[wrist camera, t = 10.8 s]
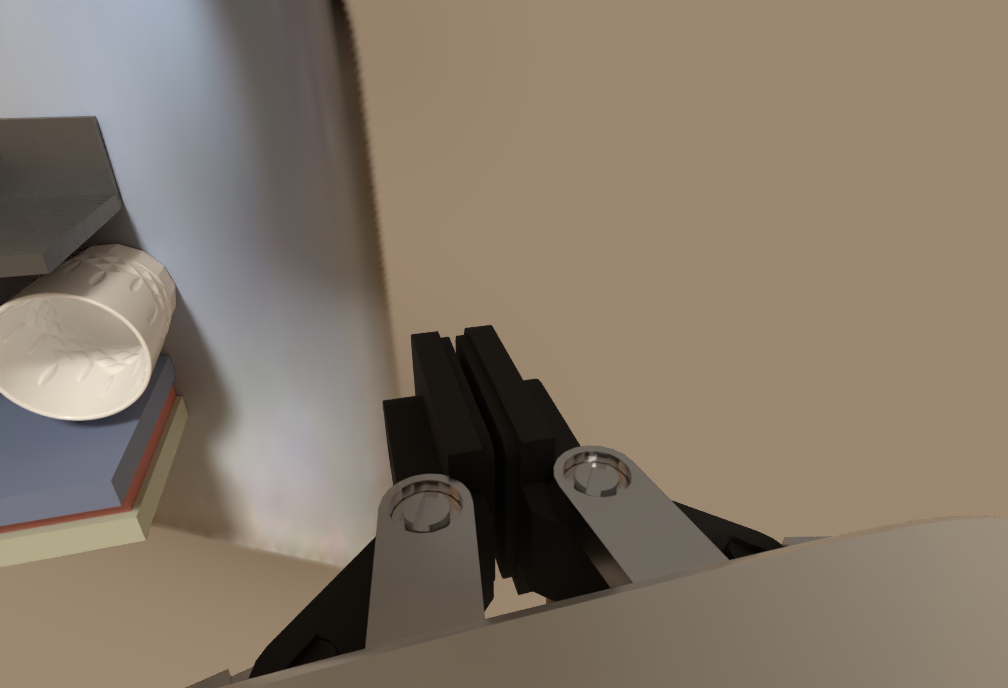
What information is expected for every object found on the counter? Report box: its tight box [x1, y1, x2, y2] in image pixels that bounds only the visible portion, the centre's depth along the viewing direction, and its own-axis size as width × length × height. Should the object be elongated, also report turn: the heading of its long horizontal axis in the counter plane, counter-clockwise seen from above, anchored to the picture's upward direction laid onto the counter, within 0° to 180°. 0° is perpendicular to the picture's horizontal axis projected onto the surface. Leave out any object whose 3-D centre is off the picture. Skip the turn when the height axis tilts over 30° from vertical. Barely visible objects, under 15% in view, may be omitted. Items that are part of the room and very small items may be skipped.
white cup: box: [0, 244, 176, 421], centre depth 35 cm, size 8×8×10 cm
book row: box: [0, 355, 189, 567], centre depth 37 cm, size 6×10×14 cm, turn 90°
